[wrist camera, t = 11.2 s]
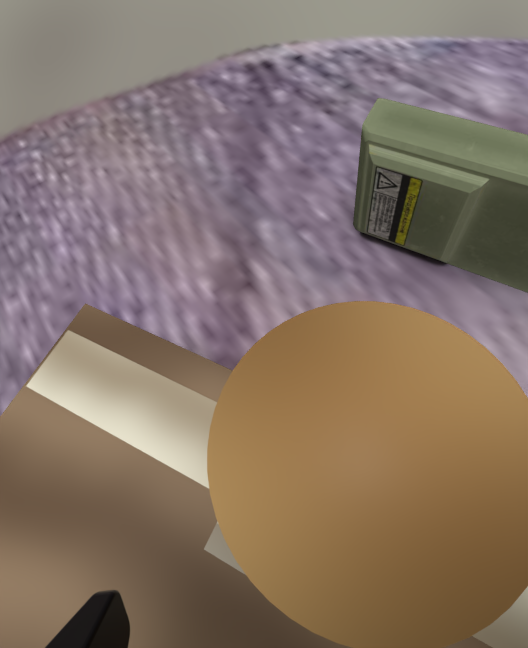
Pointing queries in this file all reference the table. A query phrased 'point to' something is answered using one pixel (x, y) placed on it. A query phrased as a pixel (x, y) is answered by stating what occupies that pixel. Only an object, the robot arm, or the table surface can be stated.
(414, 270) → the table surface
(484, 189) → the handheld radio
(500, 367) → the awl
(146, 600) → the board
